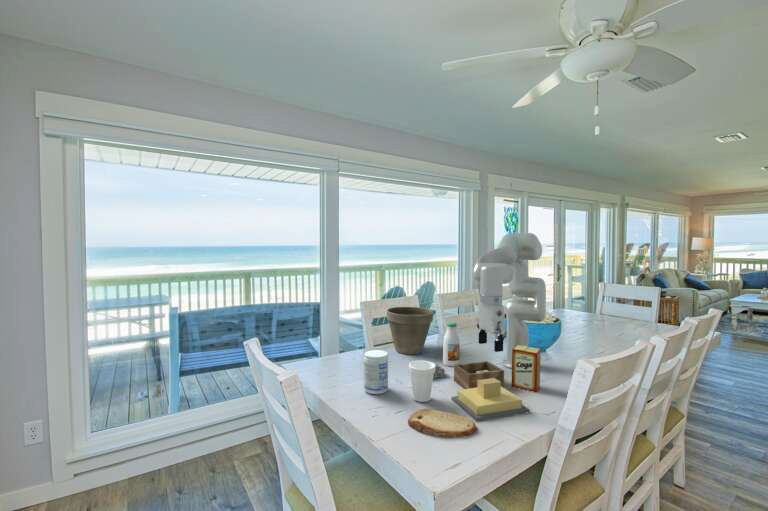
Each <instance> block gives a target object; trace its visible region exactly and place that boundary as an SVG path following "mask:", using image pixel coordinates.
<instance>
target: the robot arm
mask: <svg viewBox="0 0 768 511" xmlns="http://www.w3.org/2000/svg"><path fill="white" fill-rule="evenodd" d="M542 256H543V246H542V244H541V242H540V240H539V238H538V236H537V235H536V234H534V233H532V232H508V233H506V234H504V236H502V238H501V240H500V242H498V245H497V247H495V248H494V249H492V250H489V251H488V252H485V253H484V254H481V256H479V258H478V259H477V261H476V263H475V265H474V267H473V272H472V273H473V274H472V275H473V278H474V279H475V280H476V282H478V283H480V286H479V287H480V289H479V290H480V292H479V293H480V297H479V298H480V299H479V302H480V303H479V308H478V309H479V311H478V317H477V318H476V319H475V321H476V322H475V323H476V328H477V332H478V344H480V345H482V344H487V343H488V333H491V334H493V336H494V343H493V344H494V348H493V349H494V350H493V351H494V352H495V353H499V352H504V341H505V338H506V359H504V360H503V362H502V365H503V366H505V367H506V368H507V369H511V370H512V349H513V348H514V347H515V346H516V345H520V346H528V347H529V328H528V326H527V324H526V322H525V321H527V322H534V323H536V322H537V323H541V322H544V321H545V318H546V313H547V312H546V310H547V288H546V282H545V280H544V279H543V278H541V277H533V276H529V264H528V263H527V262H526V261H537V260H539V259H540V258H541V257H542ZM505 284H508V292H509V294H510V296H513V297H517V298H512V299H509V300H507V301H506V304H505V308H504V305H503V285H505ZM521 298H529V299H521ZM530 299H533V300H530ZM505 316H506V317H505Z"/></svg>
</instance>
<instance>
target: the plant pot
mask: <svg viewBox="0 0 768 511" xmlns="http://www.w3.org/2000/svg"><path fill="white" fill-rule="evenodd" d="M386 320H387V321H388V324H389V329H390V334H391V337H392V342H393V346H394V348H395V349H394V350H395V352H398V353H400V354H405V355H417V354H420V353H422V352H423V349H424V347H425V345H426V344H425V343H426V341H427V337H428V334H429V330H430V327H431V323H432V322H433V321H434V311H433V310H432V309H429V308H425V307H419V306H394V307H390V308H387V310H386Z"/></svg>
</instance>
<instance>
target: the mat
mask: <svg viewBox="0 0 768 511" xmlns="http://www.w3.org/2000/svg"><path fill="white" fill-rule="evenodd" d="M451 400H452V402H454V403H455V404H456V405H457V406H458V407H460V408H461V409H462V410H463V411H464V412H467V413H466V414H467V415H468V416H470V417H471V418H472V419H473V420H475V422H480V421H481V422H482V421H486V420H491V419H492V420H493V419H498V418H504V417H509V416H515V414H517V415H520V414H521V415H522V414H526V412H528V413H530V409H529V408H528V407H526V406H525V405H524V404H522V408H518V409H512V410H506V411H500V412H494V413H488V414H482V415H477V414H476V413H475V412H473V411H472V410H471V409H470V408H469V407H467V406H466V405H465V404H464V403H463V402H461V401H460V400H459V399H458V395H456V396H455V395H454V396H451Z"/></svg>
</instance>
